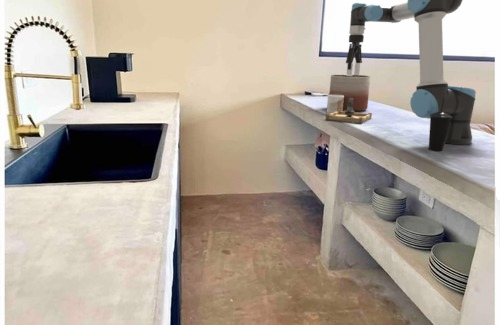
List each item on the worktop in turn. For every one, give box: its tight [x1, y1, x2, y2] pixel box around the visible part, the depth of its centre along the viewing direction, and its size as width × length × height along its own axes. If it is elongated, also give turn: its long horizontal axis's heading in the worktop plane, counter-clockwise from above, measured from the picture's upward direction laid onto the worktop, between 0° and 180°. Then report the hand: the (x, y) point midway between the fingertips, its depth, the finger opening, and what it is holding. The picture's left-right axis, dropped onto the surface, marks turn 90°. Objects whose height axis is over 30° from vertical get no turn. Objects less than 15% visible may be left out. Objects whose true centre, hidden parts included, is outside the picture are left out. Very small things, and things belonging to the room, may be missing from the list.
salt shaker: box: [344, 97, 356, 118], centre depth 208 cm, size 6×6×12 cm
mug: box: [326, 94, 344, 114], centre depth 229 cm, size 10×12×11 cm
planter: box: [328, 74, 371, 113], centre depth 244 cm, size 25×25×22 cm
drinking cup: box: [428, 98, 452, 152], centre depth 142 cm, size 8×8×20 cm
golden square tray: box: [325, 110, 373, 125], centre depth 210 cm, size 20×20×3 cm
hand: (352, 75), depth 203 cm, fingers open, 13 cm apart
